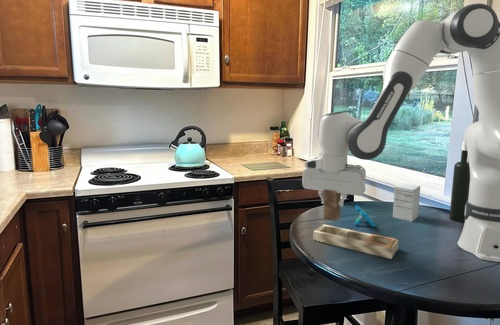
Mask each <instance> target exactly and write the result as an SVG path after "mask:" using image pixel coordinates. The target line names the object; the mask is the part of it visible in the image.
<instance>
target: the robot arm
mask: <svg viewBox="0 0 500 325" xmlns="http://www.w3.org/2000/svg"><path fill="white" fill-rule="evenodd" d="M462 52H467V53H468V54H469V56H470V58H471V62H472V94H473V95H472V96H473V103H474V105H475V106H476V109H477V111H478V114H479V117H480V120H478V121H475V122H473V123H471V124H470V125H468V126H467V128H466V129H465V130H464V132H463V141H464V142H465V144H466V146H467V151H468V157H467V160H468V162H469V167H470V186H469V197H468V200H467V202H466V205H465V215H464V216H465V222H463V227H462V231H461V234H460V236H459V239H458V240H457V245H458V247H459V248H460V249H462V250H463V251H465V252H468V253H471V254H472V255H474V256H475V257H477V258H478V259H480V260H484V261H488V262H497V263H500V21H499V17H498V15H497V13H496V11H495V10H494V9H493V8H492V7H491V6H490V5H487V4H485V3H472V4H468V5H465V6H462V8H460V9H457V10H456V11H454V12H452V13H451V14H449V15H448V16H447V17H446V18H445V19H443V20H441V21H440V22H435V21H432V20H429V19H419V20H416V21H415V22H413V23H411V25H410V26H409V27H408V28H407V30H406V31H405V32H404V33H403V34H402V36H401V38H400V39H399V40H398V42H397V43H396V44H395V46H394V48H393V49H392V51H391V53H390V55H389V56H388V58H387V60H386V62H385V66H384V68H383V71H382V79H383V80H382V81H383V83H382V84H383V85H382V89H381V93H380V94H379V96H378V98H377V100H376V101H375V104H374V105H373V107H372V108H371V111H370V113H369V114H368V115H367V117H366V118H365V120H361V119H359V118H356V117H354V116H352V115H350V114H349V113H347V112H346V111H343V110H340V111H339V110H338V111H333V112H329V113H326V114H324V115H323V116H322V117H321V119H320V121H319V128H318V129H319V132H318V142H319V145H320V147H319V151H318V156H317V157H314V158H311V159H309V160H306V161H305V162H304V170H303V172H302V177H301V178H302V179H301V182H302V184H301V186H302V187H303V188H304V189H305V190H306V189H307V190H313V191H318V192H317V193H318V195H319V197H320V199H321V204H323V205H324V189H325V190H333V191H337V193H341V200H339V201H337V203H338V204H337V206H340V207H341V208H342V207H344V201H345V200H346V198H347V197H348V195H350V196H351V195H352V196H358V197H359V196H362V195H363V194H365V192H366V175H367V173H366V172H367V171H366V169H365V168H364V167H363V166H362V165H360V164H358V165H357V164H351V163H350V164H349V163H348V152H350V153H351V154H352V156H354V157H356V158H357V159H360V160H363V161H364V160H365V161H366V160H367V161H368V160H373V159H375V158H377V157H378V156H380V155H381V154H382V153H383V151H384V150H385V148H386V143H387V136H388V131H389V128H390V126H391V125H392V123H393V121H394V119H395V117H396V115H398V114H397V113H398V112H399V111H400V108H401V107H402V105H403V104H404V101H405V99H406V98H407V96H408V95H409V94H410V93H411V92H412V90H413V89H414V88H415V86H416V85H417V84H418V83H419V82H420V80H421V79H422V78H423V76H424V75H425V73H426V72H427V70H428V69H429V67H430V65H431V64H432V62H433V60H434V58H436V56H437V55H438V53H442V54H445V55H449V54H450V55H452V54H453V55H454V54H457V53H462Z"/></svg>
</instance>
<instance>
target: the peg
mask: <svg viewBox="0 0 500 325" xmlns="http://www.w3.org/2000/svg"><path fill="white" fill-rule="evenodd" d="M341 199H342V197H341V193H337V191H333V190H325V189H324V204H323V205H324V206H323V220H326V221H332V222H337V221H339V219H341V208H342V207H340V206H337V204H338V203H337V201H339V200H341Z"/></svg>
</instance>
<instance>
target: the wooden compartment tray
mask: <svg viewBox="0 0 500 325" xmlns="http://www.w3.org/2000/svg"><path fill="white" fill-rule="evenodd" d="M312 233H313V236H312V237H313V238H312V240H313V241H315V240H316V242H319V241H320V243H323V242H324V244H328V245H332V246H336V247H340V248H344V249H349V250H353V251H356V252H360V253H361V252H362V253H365V254H369V255H374V256H377V257H383V258H384V259H385V258H386V259H390V260H391V259H392V258H393V257H394V256H395V254H396V253H397V251H398V250H399V248H398V247H399V239H396V238H393V237H389V236H388V237H387V236H382V235H379V234H372V233H368V232H362V231H357V230H353V229H349V228H342V227H338V226H334V225H328V224H324V223H323V224H321V225H320V226H319V227H318V228H316V229H314V230H313V232H312Z"/></svg>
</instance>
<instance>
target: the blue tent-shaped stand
mask: <svg viewBox="0 0 500 325" xmlns="http://www.w3.org/2000/svg"><path fill="white" fill-rule="evenodd" d="M354 208H355V209H356V211H358V213H359V217H357V218H356V219H355V222H354V224H353V225H355V226H358V225H359V224H360V223H361V222H362V221H364V222H365V221H367V222H368V224H369V225H370V226H372V227H373V228H375V227H376V224H375V222H374V221H373V220H372V219H371V217H370V216H369V214H368V213H367V212H366V211H365V210H363V209H362V208H361V207H360V206H359V205H358V204H356V205H355V206H354Z"/></svg>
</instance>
